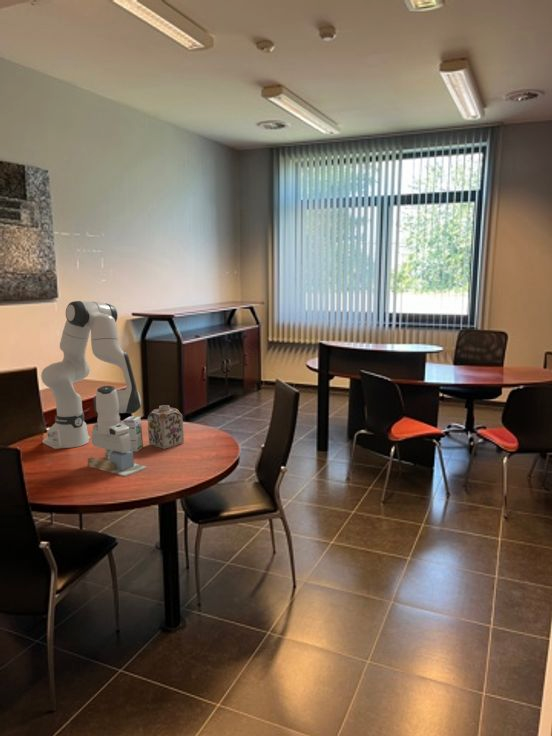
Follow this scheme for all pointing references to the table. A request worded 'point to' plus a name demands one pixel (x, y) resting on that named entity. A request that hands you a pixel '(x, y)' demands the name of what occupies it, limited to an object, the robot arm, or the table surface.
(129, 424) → the syrup box
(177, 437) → the decorative jar
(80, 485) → the table surface
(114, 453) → the slate block
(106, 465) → the chute
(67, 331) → the robot arm
